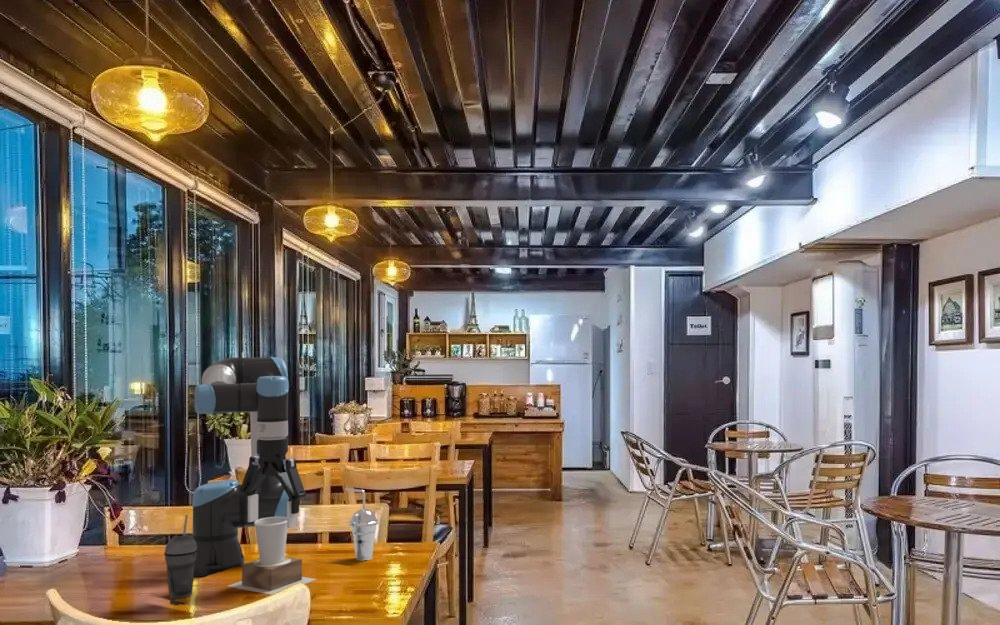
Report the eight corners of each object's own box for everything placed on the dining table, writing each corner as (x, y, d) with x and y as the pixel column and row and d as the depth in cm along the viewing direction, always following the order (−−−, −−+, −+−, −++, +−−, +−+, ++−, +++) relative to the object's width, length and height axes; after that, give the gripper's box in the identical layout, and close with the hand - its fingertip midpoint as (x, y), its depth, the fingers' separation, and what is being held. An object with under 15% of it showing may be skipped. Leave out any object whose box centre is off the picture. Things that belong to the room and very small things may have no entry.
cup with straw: (370, 563, 204) (369, 490, 206) (341, 561, 207) (341, 489, 208) (384, 555, 212) (384, 485, 214) (356, 553, 215) (356, 484, 216)
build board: (226, 592, 181) (226, 586, 181) (270, 577, 193) (270, 571, 193) (274, 601, 173) (274, 595, 173) (316, 585, 185) (316, 579, 185)
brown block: (242, 585, 181) (242, 564, 181) (273, 574, 190) (273, 554, 190) (271, 590, 176) (271, 569, 176) (301, 579, 185) (301, 558, 185)
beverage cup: (170, 597, 177) (171, 512, 179) (201, 596, 178) (202, 511, 179) (158, 607, 170) (159, 519, 171) (191, 606, 171) (192, 518, 172)
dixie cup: (284, 565, 179) (283, 523, 180) (249, 566, 179) (249, 524, 180) (294, 555, 187) (293, 516, 188) (261, 556, 187) (260, 516, 188)
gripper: (225, 437, 188) (225, 521, 187) (298, 442, 176) (298, 532, 175) (249, 434, 195) (248, 515, 194) (320, 438, 182) (320, 526, 181)
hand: (272, 524), depth 184 cm, fingers open, 13 cm apart
